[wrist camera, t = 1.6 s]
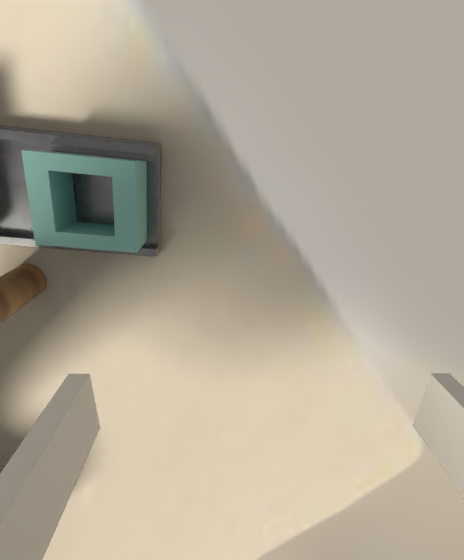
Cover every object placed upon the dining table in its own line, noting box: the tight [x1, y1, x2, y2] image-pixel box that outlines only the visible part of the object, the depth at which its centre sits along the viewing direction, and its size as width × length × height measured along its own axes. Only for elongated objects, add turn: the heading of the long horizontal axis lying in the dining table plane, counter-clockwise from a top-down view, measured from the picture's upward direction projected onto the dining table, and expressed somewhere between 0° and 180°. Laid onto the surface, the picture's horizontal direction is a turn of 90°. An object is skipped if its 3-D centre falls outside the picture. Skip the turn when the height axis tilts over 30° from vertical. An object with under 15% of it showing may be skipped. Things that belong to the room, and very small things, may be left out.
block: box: [21, 150, 147, 253], centre depth 25 cm, size 8×7×4 cm
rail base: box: [0, 126, 161, 257], centre depth 25 cm, size 18×10×7 cm, turn 85°
